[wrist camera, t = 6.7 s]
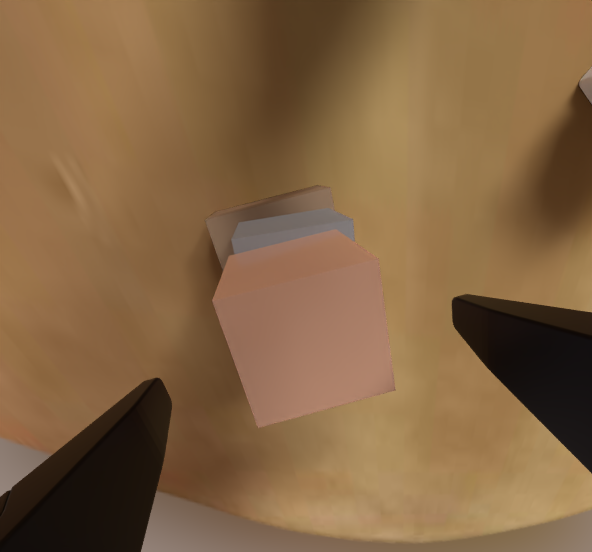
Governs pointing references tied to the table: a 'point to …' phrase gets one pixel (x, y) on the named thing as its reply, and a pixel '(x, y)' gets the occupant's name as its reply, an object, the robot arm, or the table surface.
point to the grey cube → (289, 228)
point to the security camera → (587, 84)
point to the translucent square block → (263, 214)
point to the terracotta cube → (305, 325)
